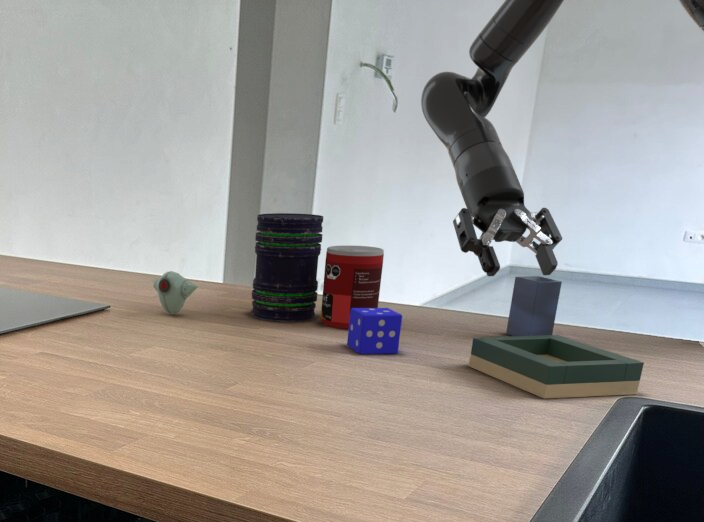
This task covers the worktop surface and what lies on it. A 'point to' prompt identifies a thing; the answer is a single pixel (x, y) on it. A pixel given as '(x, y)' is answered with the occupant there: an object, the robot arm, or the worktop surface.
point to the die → (374, 330)
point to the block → (533, 306)
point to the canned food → (350, 282)
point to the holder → (555, 366)
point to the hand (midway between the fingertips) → (522, 272)
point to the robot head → (173, 291)
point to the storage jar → (286, 266)
